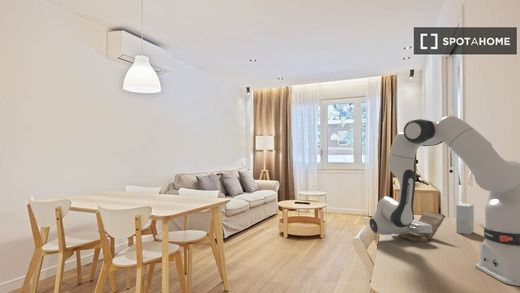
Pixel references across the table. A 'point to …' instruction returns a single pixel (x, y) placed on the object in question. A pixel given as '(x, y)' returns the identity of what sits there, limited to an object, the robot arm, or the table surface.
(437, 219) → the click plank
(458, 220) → the skincare box
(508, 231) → the robot arm
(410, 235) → the laid plank
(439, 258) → the table surface
